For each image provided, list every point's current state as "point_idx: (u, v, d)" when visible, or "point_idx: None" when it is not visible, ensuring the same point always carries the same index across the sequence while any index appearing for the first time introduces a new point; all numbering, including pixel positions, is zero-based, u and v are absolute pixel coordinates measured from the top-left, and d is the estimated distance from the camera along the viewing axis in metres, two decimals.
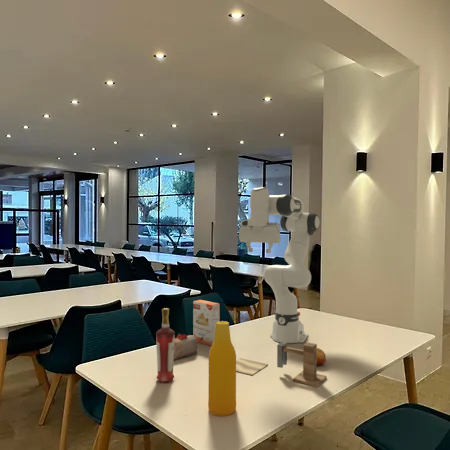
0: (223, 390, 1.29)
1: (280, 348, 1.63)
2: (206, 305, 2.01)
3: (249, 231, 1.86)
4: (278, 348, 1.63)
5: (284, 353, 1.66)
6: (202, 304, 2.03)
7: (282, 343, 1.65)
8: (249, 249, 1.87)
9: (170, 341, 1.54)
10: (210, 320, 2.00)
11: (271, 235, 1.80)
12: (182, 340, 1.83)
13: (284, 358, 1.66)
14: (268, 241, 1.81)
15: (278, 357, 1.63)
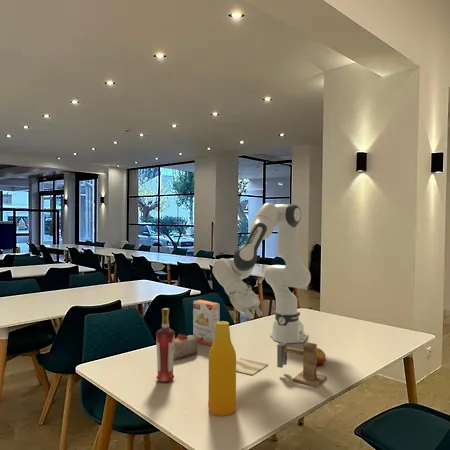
0: (223, 390, 1.29)
1: (280, 348, 1.63)
2: (206, 305, 2.01)
3: None
4: (278, 348, 1.63)
5: (284, 353, 1.66)
6: (202, 304, 2.03)
7: (282, 343, 1.65)
8: None
9: (170, 341, 1.54)
10: (210, 320, 2.00)
11: None
12: (182, 340, 1.83)
13: (284, 358, 1.66)
14: None
15: (278, 357, 1.63)
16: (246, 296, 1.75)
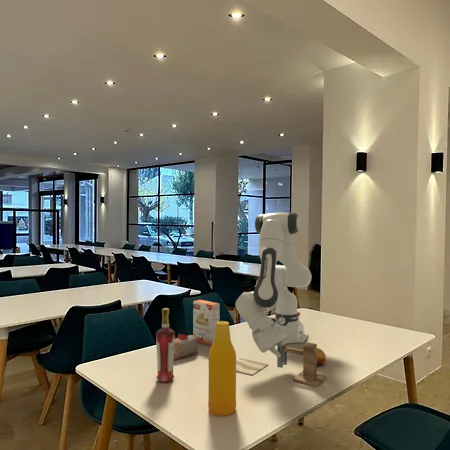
0: (223, 390, 1.29)
1: (280, 348, 1.63)
2: (206, 305, 2.01)
3: None
4: (278, 348, 1.63)
5: (284, 353, 1.66)
6: (202, 304, 2.03)
7: (282, 343, 1.65)
8: None
9: (170, 341, 1.54)
10: (210, 320, 2.00)
11: None
12: (183, 340, 1.83)
13: (284, 358, 1.66)
14: None
15: None
16: (271, 332, 1.68)
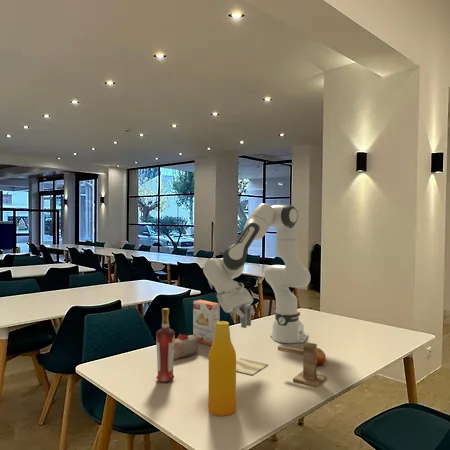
0: (223, 390, 1.29)
1: (244, 309, 1.69)
2: (206, 305, 2.01)
3: None
4: (242, 309, 1.70)
5: (248, 314, 1.73)
6: (202, 304, 2.03)
7: (246, 305, 1.72)
8: None
9: (170, 341, 1.54)
10: (210, 320, 2.00)
11: None
12: (183, 340, 1.83)
13: (248, 319, 1.73)
14: None
15: (242, 318, 1.70)
16: (237, 295, 1.75)
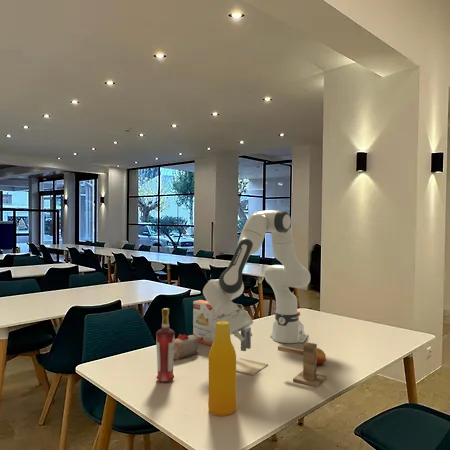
0: (223, 390, 1.29)
1: (243, 332, 1.69)
2: (206, 305, 2.01)
3: None
4: (241, 332, 1.70)
5: (248, 337, 1.73)
6: (202, 304, 2.03)
7: (246, 328, 1.72)
8: None
9: (170, 341, 1.54)
10: (210, 320, 2.00)
11: None
12: (183, 340, 1.83)
13: (248, 342, 1.73)
14: None
15: (241, 341, 1.70)
16: (236, 318, 1.75)
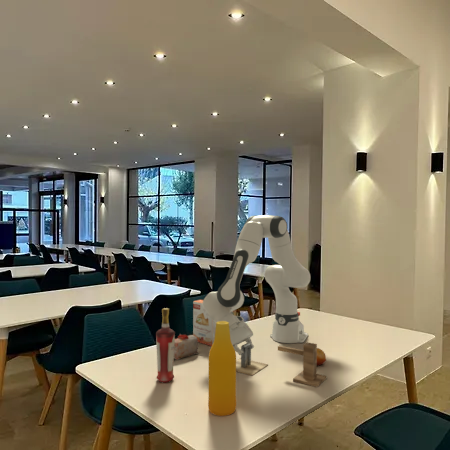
0: (223, 390, 1.29)
1: (243, 349, 1.70)
2: None
3: None
4: (242, 349, 1.70)
5: (248, 354, 1.73)
6: (202, 304, 2.03)
7: (246, 344, 1.72)
8: None
9: (170, 341, 1.54)
10: (210, 320, 2.00)
11: None
12: (183, 340, 1.83)
13: (248, 359, 1.73)
14: None
15: (242, 358, 1.70)
16: (236, 330, 1.75)
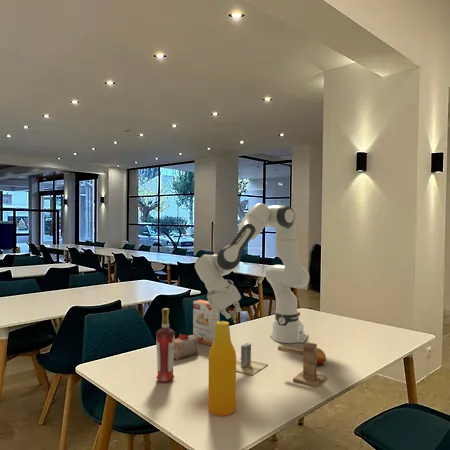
0: (223, 390, 1.29)
1: (243, 349, 1.70)
2: (206, 305, 2.01)
3: None
4: (242, 349, 1.70)
5: (248, 354, 1.73)
6: (202, 304, 2.03)
7: (246, 344, 1.72)
8: None
9: (170, 341, 1.54)
10: (210, 320, 2.00)
11: None
12: (184, 340, 1.83)
13: (248, 359, 1.73)
14: None
15: (242, 358, 1.70)
16: (226, 294, 1.79)
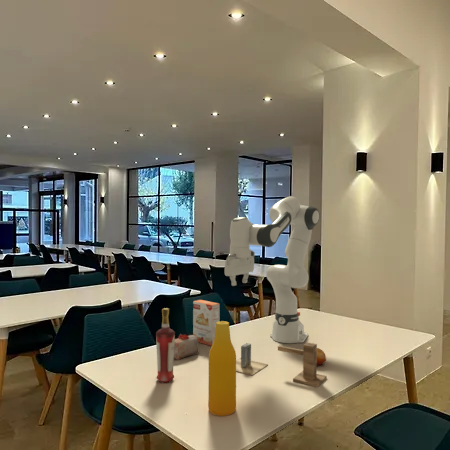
0: (223, 390, 1.29)
1: (243, 349, 1.70)
2: (206, 305, 2.01)
3: None
4: (242, 349, 1.70)
5: (248, 354, 1.73)
6: (202, 304, 2.03)
7: (246, 344, 1.72)
8: None
9: (170, 341, 1.54)
10: (210, 320, 1.99)
11: None
12: (184, 340, 1.83)
13: (248, 359, 1.73)
14: None
15: (242, 358, 1.70)
16: (243, 262, 1.80)
